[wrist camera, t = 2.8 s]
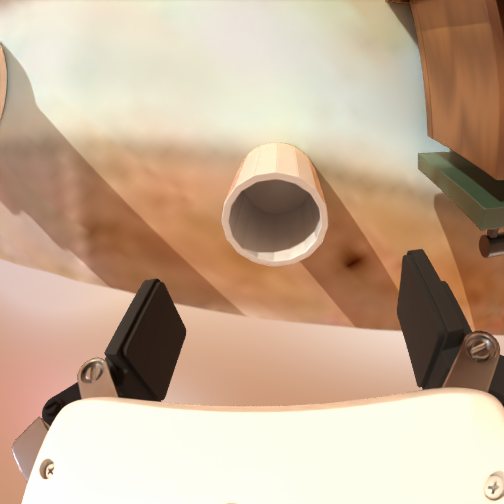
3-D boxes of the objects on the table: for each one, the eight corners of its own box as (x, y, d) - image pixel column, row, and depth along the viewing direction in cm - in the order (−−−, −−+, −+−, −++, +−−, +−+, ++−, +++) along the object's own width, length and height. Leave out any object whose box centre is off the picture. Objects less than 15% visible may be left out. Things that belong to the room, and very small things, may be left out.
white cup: (247, 219, 23) (236, 271, 18) (230, 150, 20) (210, 183, 15) (320, 209, 22) (331, 259, 17) (310, 136, 19) (322, 165, 14)
